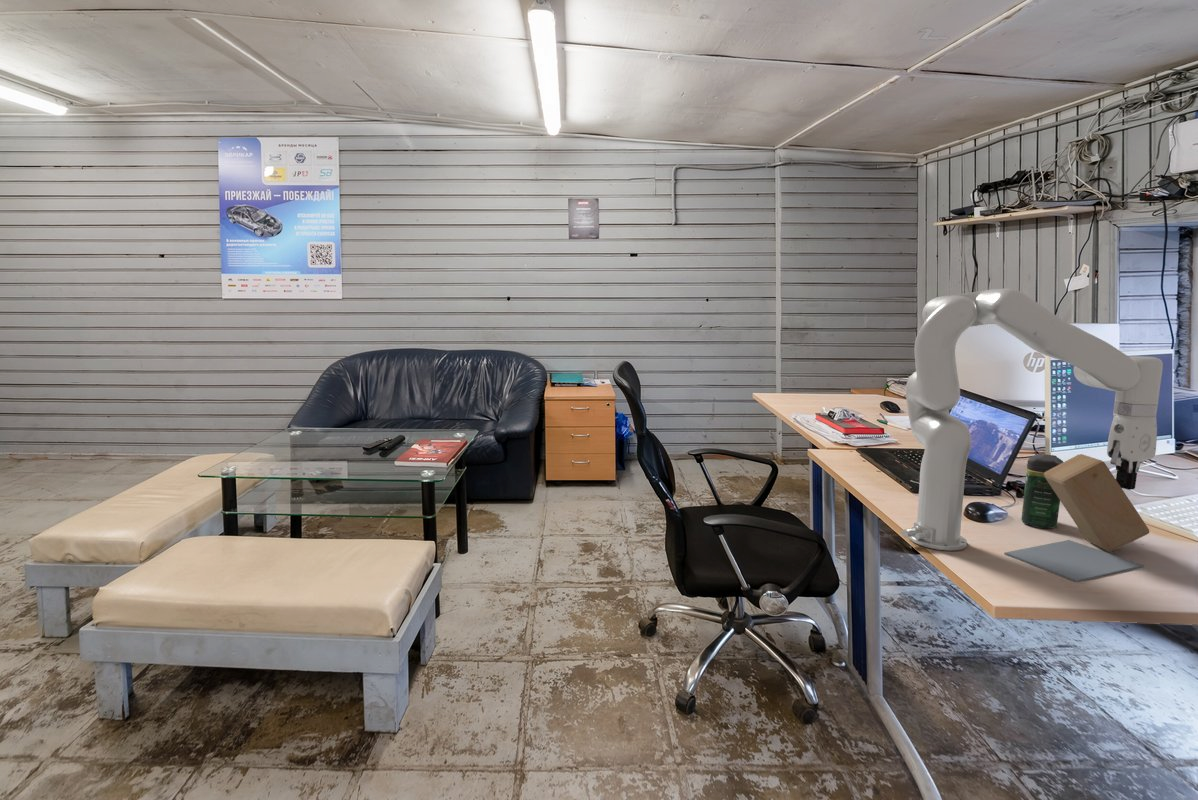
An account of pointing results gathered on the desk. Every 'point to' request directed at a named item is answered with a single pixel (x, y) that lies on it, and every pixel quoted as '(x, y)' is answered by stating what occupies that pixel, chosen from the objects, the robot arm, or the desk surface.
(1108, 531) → the wooden block
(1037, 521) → the coffee jar
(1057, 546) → the mat
